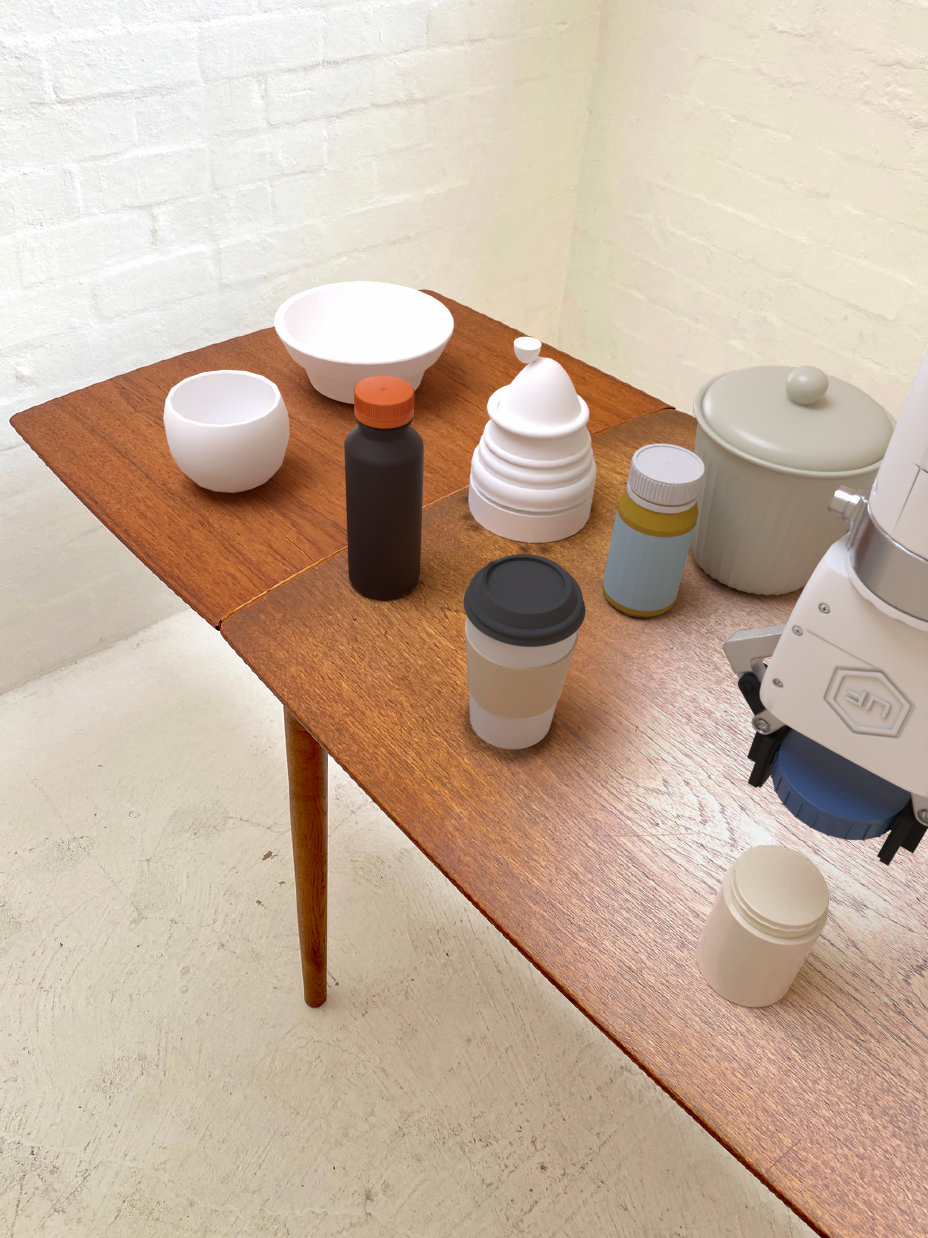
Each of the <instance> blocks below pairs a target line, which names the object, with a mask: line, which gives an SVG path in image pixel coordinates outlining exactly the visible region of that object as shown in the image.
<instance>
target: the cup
mask: <svg viewBox="0 0 928 1238" xmlns="http://www.w3.org/2000/svg"><path fill="white" fill-rule="evenodd" d="M164 401H165V402H164V409H163V417H162V420H163V426H164V432H165V436H166V441H167V446H168V449H169V452H170V454H171V457H172V458H173V460H174V462H175V463H176V465H177V467H178V470H179V471H181V472H182V473H183V474H184V475H185V476H187V477H188V478H189V479H190V480H191V481H193V482H194V483H195V484H197V485H198V486H199V487H201V488H204V489H207V490H210V491H213V492H220V493H226V494H227V493H228V494H237V493H243V492H246V491H249V490H252V489H255V488H257V487H260V486H262V485H264V484H266V483H267V482H269V480H270V479H271V478H272V477H273V476H274V475H275V474H276V473H277V472H278V470H279V469H280V468H281V467H282V466H283V463H284V459H285V456H286V451H287V447H288V444H289V440H290V436H291V433H290V431H291V430H290V419H289V411H288V409H287V407H286V404H285V402H284V398H283V397H282V394H281V392H280V389H279V388H278V385H277V384H276V383H274V382H273V381H271V380H270V379H268V378H267V377H265V376H264V375H261V374H257V373H253V372H249V371H246V370H236V369H235V370H232V369H221V370H212V371H204V372H201V373H198V374H195V375H191V376H189V377H186V378H184V379H183V380H181V381H180V382H179V383H177V384H176V385H174V386H172V387H171V389H170V390H169V392H168V394H167V397H166V398H165V400H164Z"/></svg>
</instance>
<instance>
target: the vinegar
mask: <svg viewBox="0 0 928 1238" xmlns="http://www.w3.org/2000/svg"><path fill="white" fill-rule="evenodd" d="M354 388H355V389H354V404H353V405H354V406H353V407H354V409H353V411H354V417H355V419H354V420H355V422H356V423H357V425H356V426H355V427H354V428H352V429H351V430H350V431H349V432H348V433H347V435H346V438H345V439H344V442H343V449H344V451H343V452H344V453H343V454H344V482H345V483H344V484H345V509H346V510H345V511H346V513H345V514H346V539H347V540H346V541H347V542H346V543H347V571H348V572H347V573H348V580H349V582H350V584H351V587H353V589H354V590H355V591H357V592H358V593H359V594H361V595H362V596H366V597H368V598H371V599H376V600H393V599H397V598H400V597H403V596H405V595H407V594H409V593H411V592H412V591H413V590H414V589H415V588H416V587H417V586H418V583H419V580H420V577H421V564H422V563H421V562H422V561H421V559H422V557H421V556H422V529H423V525H422V524H423V498H424V497H423V496H424V495H423V494H424V493H423V492H424V466H425V465H424V462H425V460H424V459H425V445H424V440H423V437H422V436H421V434H419V433H418V431H417V430H416V429H415V428H414V427H413V426H411V425H412V423H413V421H414V415H415V391H414V389H413V387H412V386H411V385H410V384H409V383H408V382H406V381H405V380H403V379H400V378H397V377H392V376H374V377H369V378H366V379H364V380H362V381H360V382H359V383H358V384H357V385H356V386H355V387H354Z"/></svg>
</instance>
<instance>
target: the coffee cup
mask: <svg viewBox="0 0 928 1238" xmlns="http://www.w3.org/2000/svg"><path fill="white" fill-rule="evenodd" d="M583 596H584V595H583V592H582V588H581V586H580V585H579V583H578V582H577V580H576V579H575V578H574V576H573V575H571V573H570V572H568V571H567V570H566V569H564V568H563V566H562V565H560V564H559V563H557V562H556V561H554V560H553V559H550V558H547V557H544V556H542V555H537V554H532V553H516V554H510V555H506V556H502V557H500V558H498V559H495V560H491V561H489V562H487V564H486V565H485V566H482V568H481V569H479V570H478V571H477V572H475V574H474V575H473V577H471V580H470V581H469V584H468V586H467V588H466V590H465V592H464V595H463V601H462V602H463V603H462V604H463V610H464V613H465V614H466V619H465V623H464V636H465V637H464V638H465V639H464V640H465V655H466V657H465V658H466V679H467V687H468V697H469V698H468V700H469V701H468V703H469V705H468V707H469V721H470V725H471V727H472V729H473V731H474V733H476V735H477V736H478V737H479V738H480V739H481V740H483V741H484V742H485V743H487V744H489V745H491V746H494V747H496V748H499V749H503V750H523V749H526V748H530V747H532V746H535V745H536V744H538V743H539V742H540V741H543V739H544V738H546V736H547V734H548V733H549V730H550V728H551V725H552V721H553V718H554V715H555V711H556V707H557V704H558V701H559V700H560V698H561V696H562V692H563V689H564V686H565V683H566V681H567V680H566V679H567V676H568V673H569V671H570V667H571V663H572V659H573V656H574V654H575V650H576V648H577V647H576V646H577V643H578V641H579V640H578V639H579V629H580V628H581V626H582V625H583V623H584V621H585V619H586V611H587V610H586V604H585V603H586V602H585V600H584V597H583Z"/></svg>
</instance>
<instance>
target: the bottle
mask: <svg viewBox="0 0 928 1238" xmlns="http://www.w3.org/2000/svg"><path fill="white" fill-rule="evenodd" d="M704 471H705V470H704V464H703V462H702V460H701V459H700V458H699V457H698V456H697V455H696V454H694V451H691V450H689V449H687V448H685V447H683V446H679V445H675V444H670V443H652V444H651V443H650V444H646V445H644V446H642V447H640V448H638V449H637V450H636V451H635V452H634V453H633V455H632V458H631V461H630V467H629V471H628V477H627V483H626V487H625V489H624V491H623V492H622V493H621V495H620V497H619V499H618V504H617V507H616V512H615V518H614V522H613V527H612V531H611V532H612V533H611V538H610V543H609V549H608V553H607V558H606V562H605V570H604V574H603V579H602V585H601V588H602V593H603V595H604V597H605V599H606V600H607V601H608V602H609V603H610V605H612V606H613V607H614V609H616V610H617V611H619V612H621V613H623V614H625V615H627V616H631V617H634V618H635V617H636V618H653V617H657V616H659V615H662V614H664V613H666V612H668V611H669V610H670V609H671V608H672V607H673V606H674V605H675V603H676V599H677V597H678V594H679V589H680V586H681V581H682V577H683V574H684V571H685V567H686V563H687V561H688V560H687V559H688V556H689V552H690V549H689V548H690V545H691V541H692V537H693V533H694V530H695V526H696V522H697V517H698V507H697V499H698V495H699V492H700V488H701V484H702V480H703V476H704V473H705V472H704Z"/></svg>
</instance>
